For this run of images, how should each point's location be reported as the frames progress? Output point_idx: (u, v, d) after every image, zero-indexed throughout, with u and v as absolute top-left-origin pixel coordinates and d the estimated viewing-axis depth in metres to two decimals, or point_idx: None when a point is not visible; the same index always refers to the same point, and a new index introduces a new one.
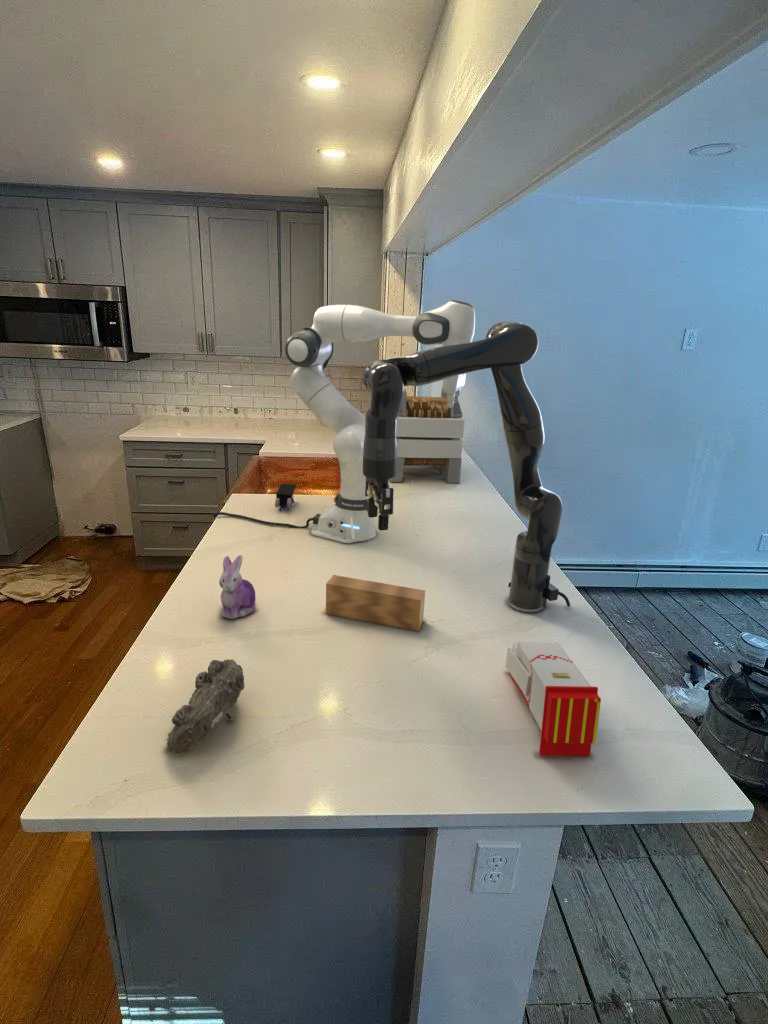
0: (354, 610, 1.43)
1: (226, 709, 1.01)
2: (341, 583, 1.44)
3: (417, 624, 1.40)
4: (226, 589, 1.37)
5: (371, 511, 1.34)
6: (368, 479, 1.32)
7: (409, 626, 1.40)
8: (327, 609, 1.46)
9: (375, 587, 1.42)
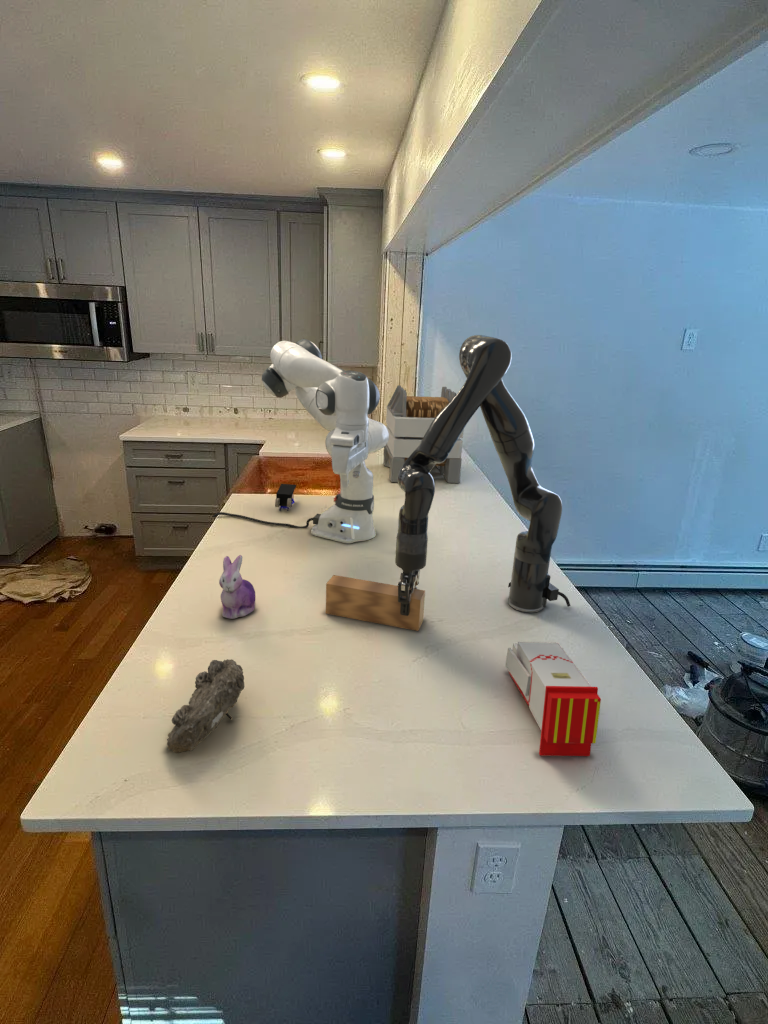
0: (354, 610, 1.43)
1: (226, 709, 1.01)
2: (341, 583, 1.44)
3: (417, 624, 1.40)
4: (226, 589, 1.37)
5: None
6: None
7: (409, 626, 1.40)
8: (327, 609, 1.46)
9: (375, 587, 1.42)
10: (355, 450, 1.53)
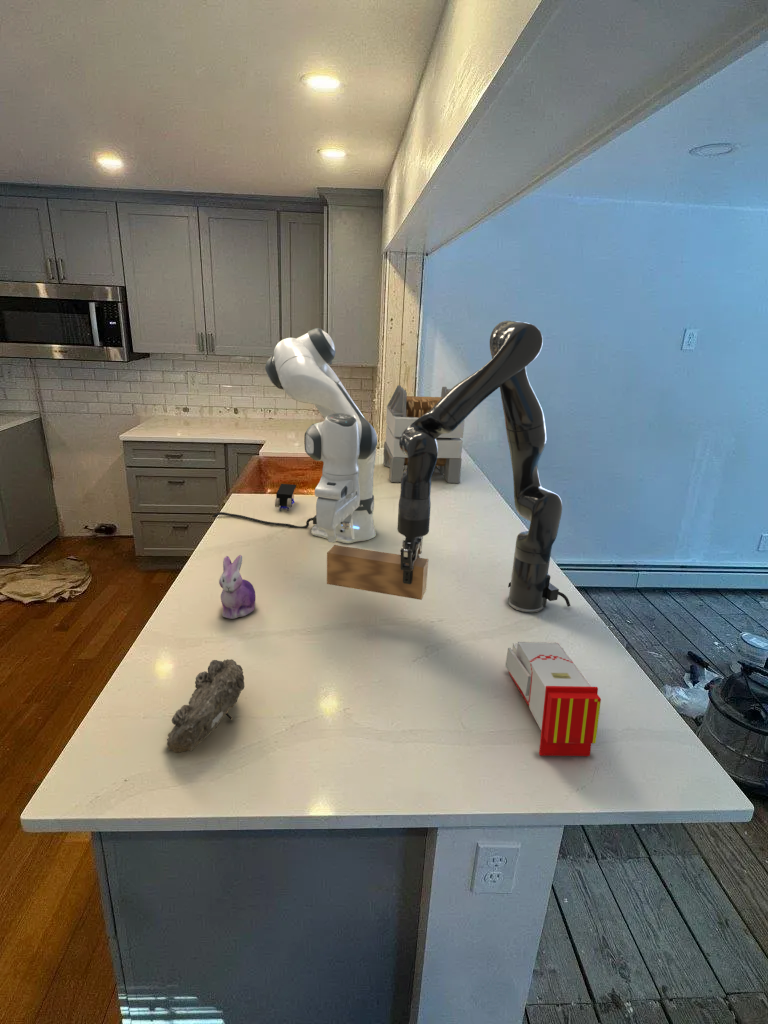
0: (356, 580, 1.41)
1: (226, 709, 1.01)
2: (342, 552, 1.41)
3: (420, 593, 1.37)
4: (226, 589, 1.37)
5: None
6: None
7: (412, 596, 1.38)
8: (328, 579, 1.43)
9: (377, 556, 1.39)
10: (344, 501, 1.38)
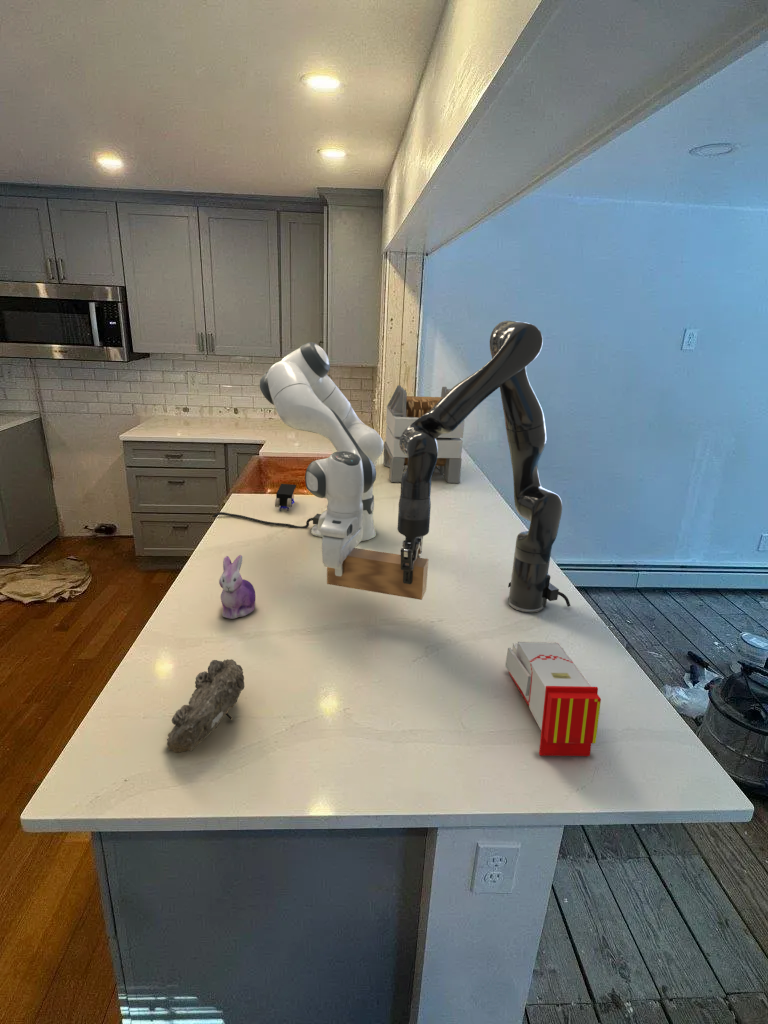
0: (356, 580, 1.41)
1: (226, 709, 1.01)
2: None
3: (420, 593, 1.37)
4: (226, 589, 1.37)
5: None
6: None
7: (412, 596, 1.38)
8: (328, 579, 1.43)
9: (377, 556, 1.39)
10: (348, 537, 1.39)
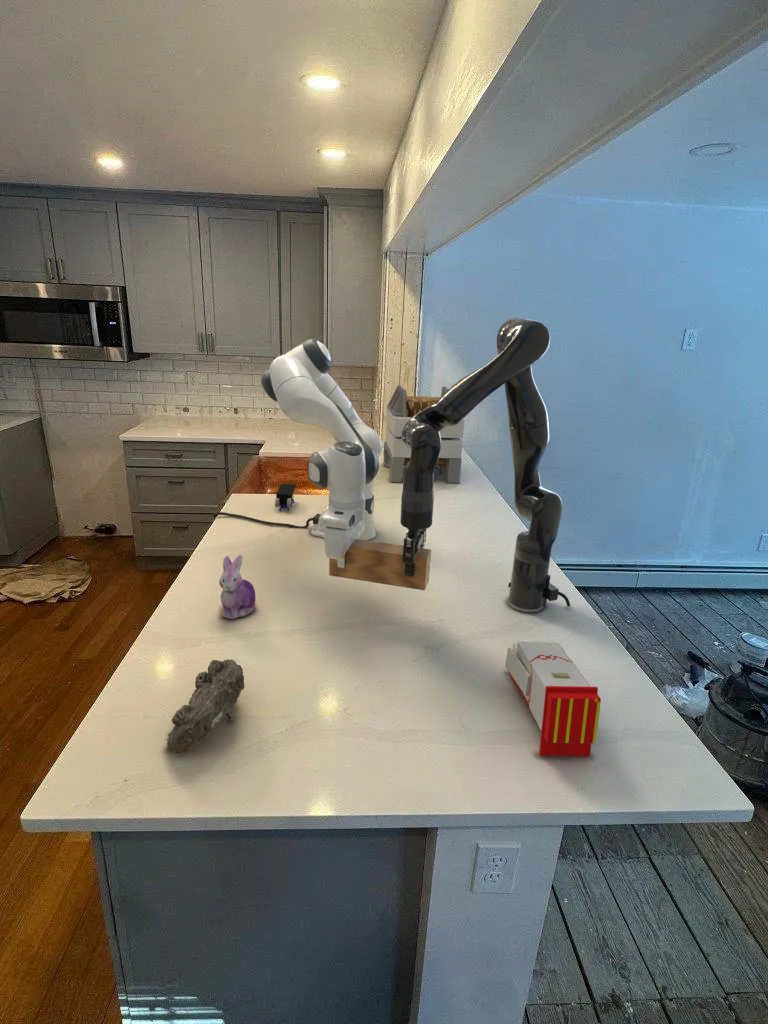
0: (358, 571, 1.40)
1: (226, 709, 1.01)
2: None
3: (423, 583, 1.36)
4: (226, 589, 1.37)
5: None
6: None
7: (415, 586, 1.37)
8: (330, 571, 1.42)
9: (380, 547, 1.39)
10: (350, 528, 1.38)
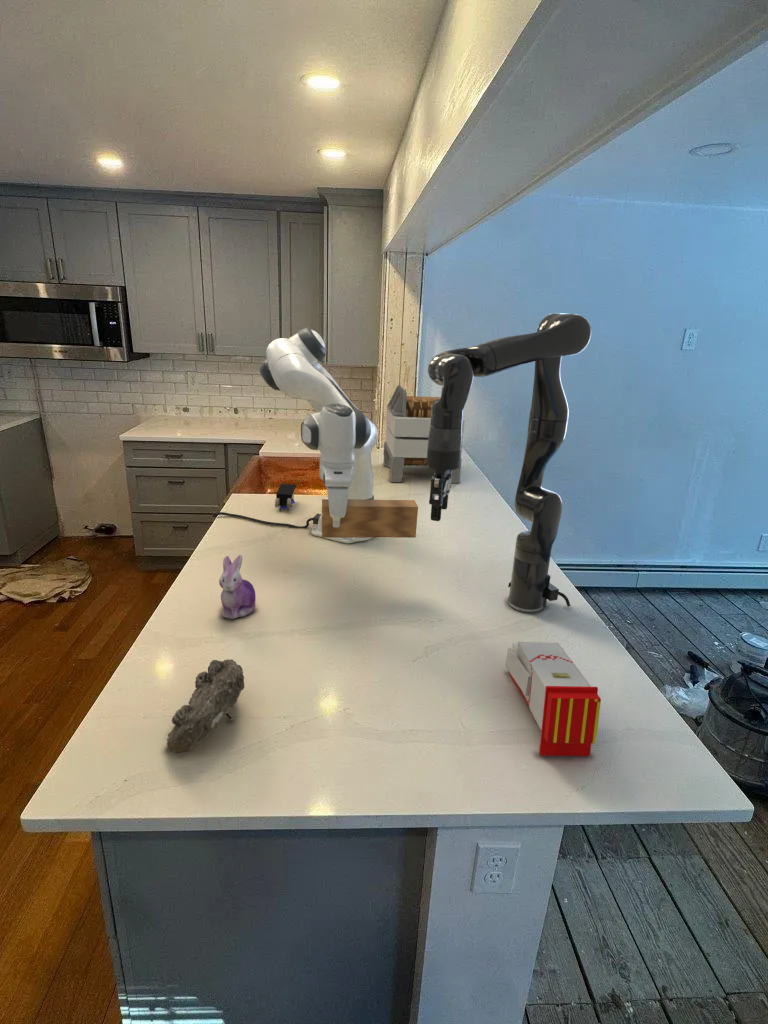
0: (352, 529, 1.46)
1: (226, 709, 1.01)
2: None
3: (414, 531, 1.48)
4: (226, 589, 1.37)
5: None
6: None
7: (407, 535, 1.48)
8: (323, 533, 1.45)
9: (370, 503, 1.46)
10: None
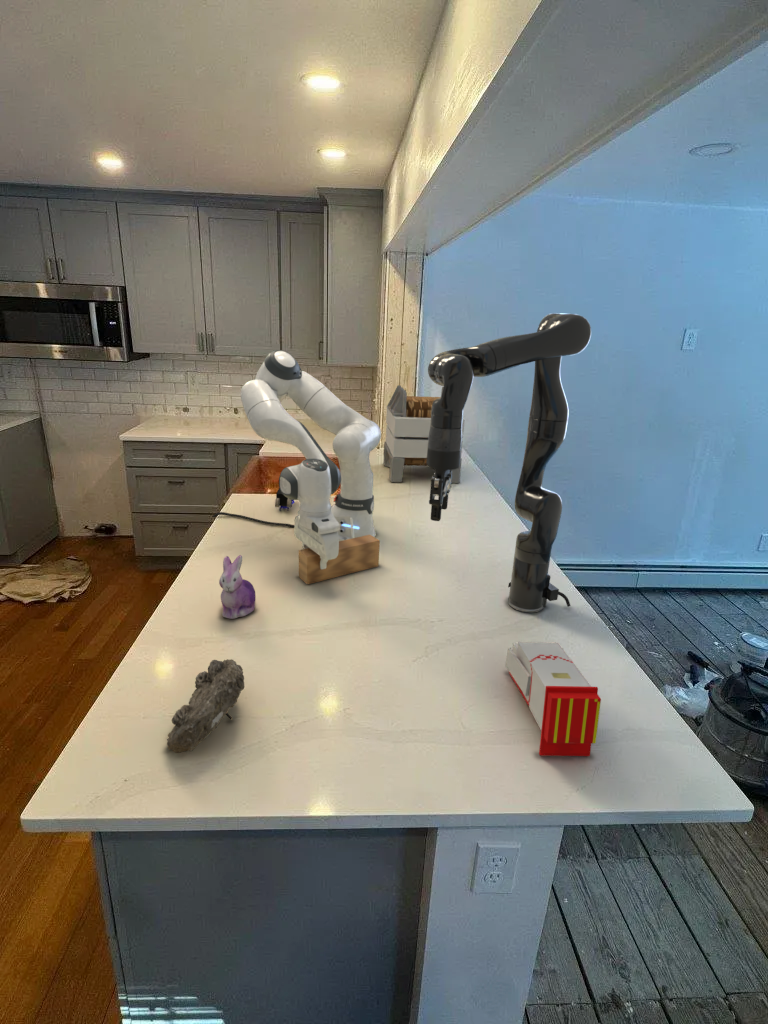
0: (331, 571, 1.64)
1: (226, 709, 1.01)
2: None
3: (377, 561, 1.73)
4: (226, 589, 1.37)
5: None
6: None
7: (372, 565, 1.73)
8: (308, 580, 1.61)
9: (341, 545, 1.66)
10: None
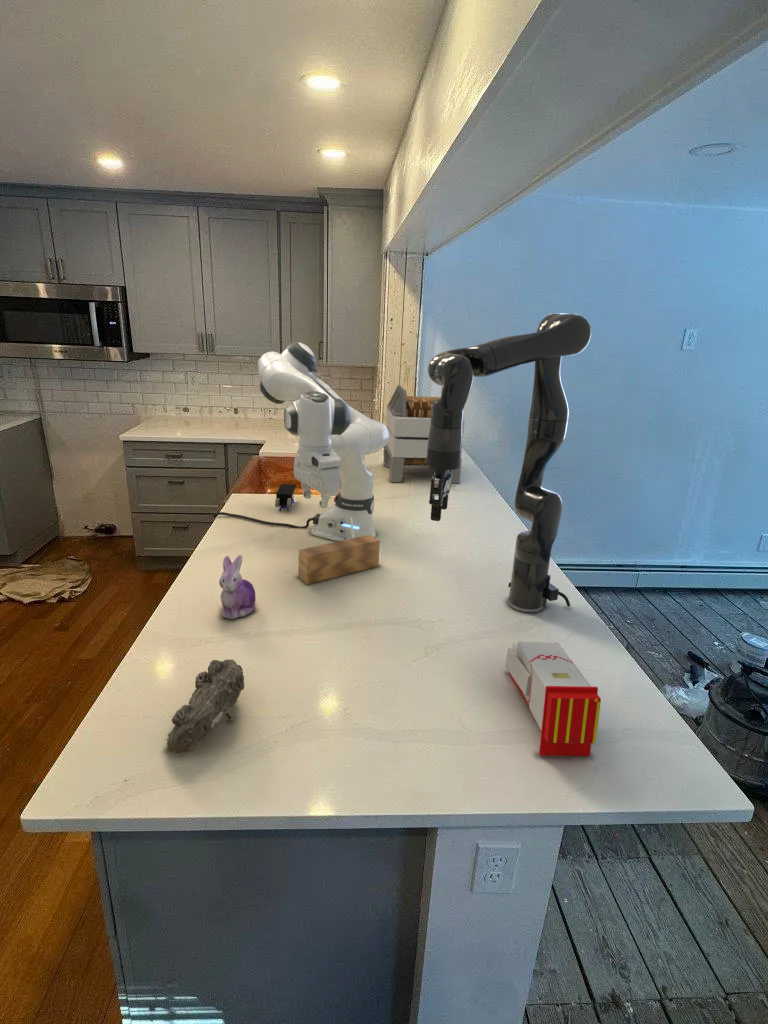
0: (331, 571, 1.64)
1: (226, 709, 1.01)
2: (316, 552, 1.61)
3: (377, 561, 1.73)
4: (226, 589, 1.37)
5: None
6: None
7: (372, 565, 1.73)
8: (308, 580, 1.61)
9: (341, 545, 1.66)
10: None
